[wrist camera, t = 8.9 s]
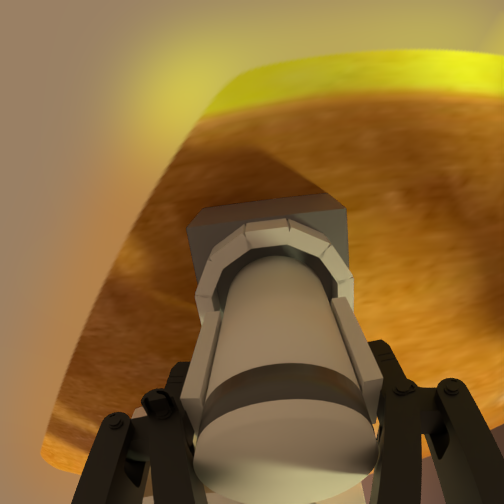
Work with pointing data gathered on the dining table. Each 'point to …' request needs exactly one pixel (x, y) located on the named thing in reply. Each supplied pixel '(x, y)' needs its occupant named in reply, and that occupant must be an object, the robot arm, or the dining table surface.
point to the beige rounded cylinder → (282, 394)
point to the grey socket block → (269, 244)
